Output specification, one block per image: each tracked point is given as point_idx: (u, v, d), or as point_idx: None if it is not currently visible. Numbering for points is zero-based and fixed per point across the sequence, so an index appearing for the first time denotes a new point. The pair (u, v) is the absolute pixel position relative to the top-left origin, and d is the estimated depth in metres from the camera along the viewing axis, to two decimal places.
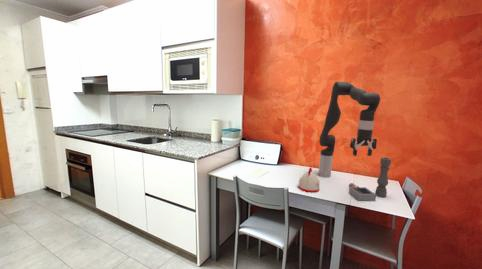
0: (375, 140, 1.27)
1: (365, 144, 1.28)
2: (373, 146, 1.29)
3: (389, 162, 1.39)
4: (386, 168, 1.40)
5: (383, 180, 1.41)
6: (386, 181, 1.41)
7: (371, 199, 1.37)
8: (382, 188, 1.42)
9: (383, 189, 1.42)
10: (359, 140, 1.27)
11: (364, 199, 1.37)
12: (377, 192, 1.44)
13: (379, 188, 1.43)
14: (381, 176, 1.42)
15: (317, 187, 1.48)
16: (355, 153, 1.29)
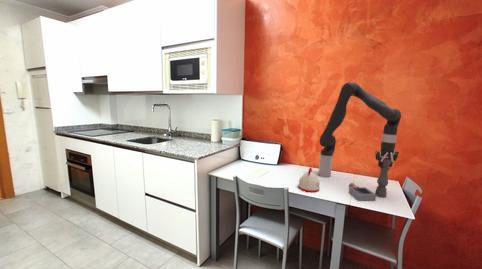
0: (397, 153, 1.39)
1: (388, 155, 1.39)
2: (393, 158, 1.41)
3: (389, 162, 1.39)
4: (386, 168, 1.40)
5: (383, 180, 1.41)
6: (386, 181, 1.41)
7: (371, 199, 1.37)
8: (382, 188, 1.42)
9: (383, 189, 1.42)
10: (383, 152, 1.39)
11: (364, 199, 1.37)
12: (377, 192, 1.44)
13: (379, 188, 1.43)
14: (381, 176, 1.42)
15: (317, 187, 1.48)
16: (380, 165, 1.40)
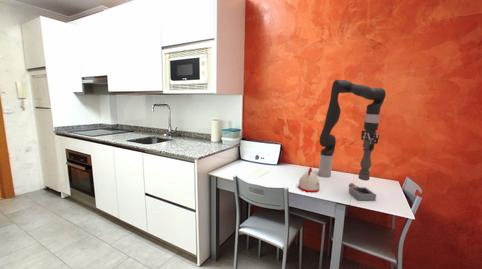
0: (374, 135, 1.29)
1: (368, 136, 1.35)
2: None
3: (365, 142, 1.35)
4: (363, 149, 1.37)
5: (361, 160, 1.40)
6: (362, 162, 1.38)
7: (371, 199, 1.37)
8: (361, 169, 1.40)
9: (360, 170, 1.40)
10: (365, 132, 1.38)
11: (364, 199, 1.37)
12: None
13: None
14: None
15: (317, 187, 1.48)
16: (363, 145, 1.40)
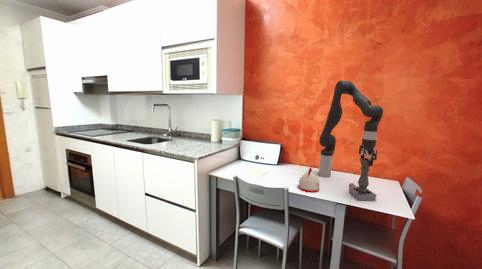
0: (372, 151, 1.31)
1: (366, 153, 1.37)
2: (373, 158, 1.31)
3: (362, 162, 1.38)
4: (361, 168, 1.40)
5: None
6: (359, 181, 1.40)
7: (371, 199, 1.37)
8: (358, 187, 1.42)
9: (358, 188, 1.42)
10: (363, 148, 1.40)
11: (364, 199, 1.37)
12: None
13: None
14: None
15: (317, 187, 1.48)
16: (360, 159, 1.43)
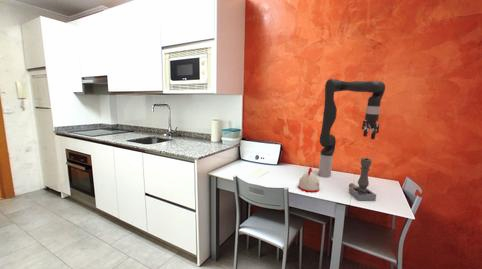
0: (374, 125, 1.38)
1: (369, 127, 1.44)
2: (375, 131, 1.39)
3: (362, 162, 1.38)
4: (361, 168, 1.40)
5: None
6: (359, 181, 1.40)
7: (371, 199, 1.37)
8: (358, 187, 1.42)
9: (358, 188, 1.42)
10: (366, 123, 1.47)
11: (364, 199, 1.37)
12: None
13: None
14: None
15: (317, 187, 1.48)
16: (363, 134, 1.50)
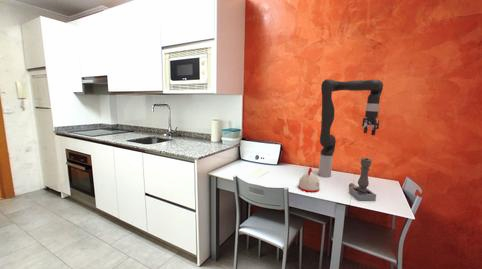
0: (375, 121, 1.44)
1: (369, 124, 1.50)
2: (375, 127, 1.45)
3: (362, 162, 1.38)
4: (361, 168, 1.40)
5: None
6: (359, 181, 1.40)
7: (371, 199, 1.37)
8: (358, 187, 1.42)
9: (358, 188, 1.42)
10: (366, 120, 1.53)
11: (364, 199, 1.37)
12: None
13: None
14: None
15: (317, 187, 1.48)
16: None
